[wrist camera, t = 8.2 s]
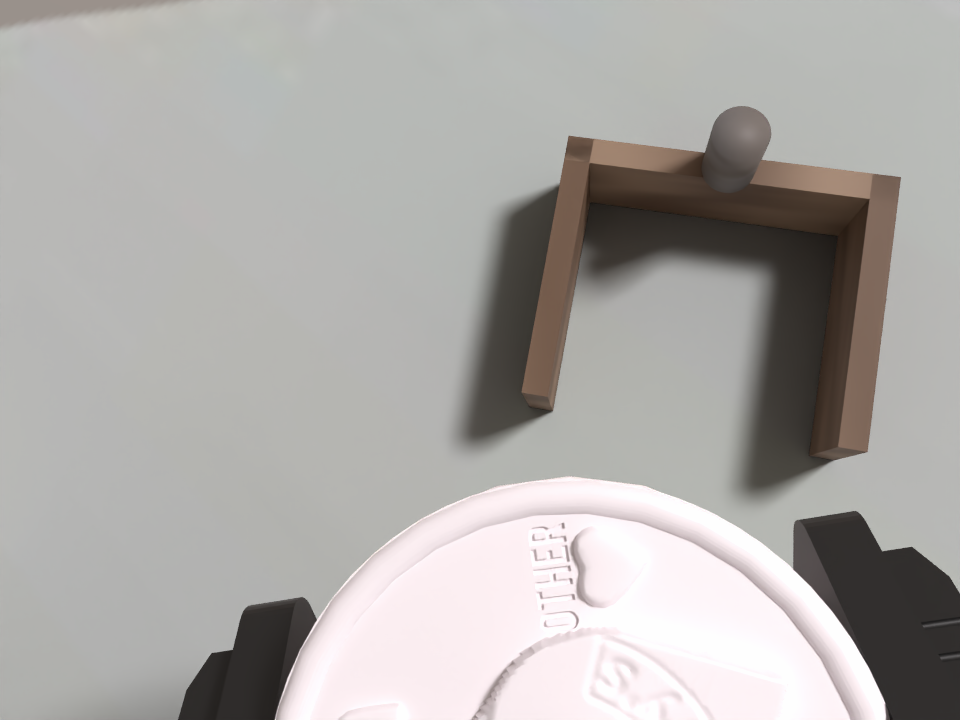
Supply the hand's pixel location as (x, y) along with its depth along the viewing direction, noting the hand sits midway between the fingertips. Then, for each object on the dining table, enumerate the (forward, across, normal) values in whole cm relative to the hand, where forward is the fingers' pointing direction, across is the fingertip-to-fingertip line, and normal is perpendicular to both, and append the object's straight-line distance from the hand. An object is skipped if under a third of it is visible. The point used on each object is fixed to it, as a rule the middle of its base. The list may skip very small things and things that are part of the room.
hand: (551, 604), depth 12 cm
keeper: (+17, -5, +8) cm, 20 cm away
